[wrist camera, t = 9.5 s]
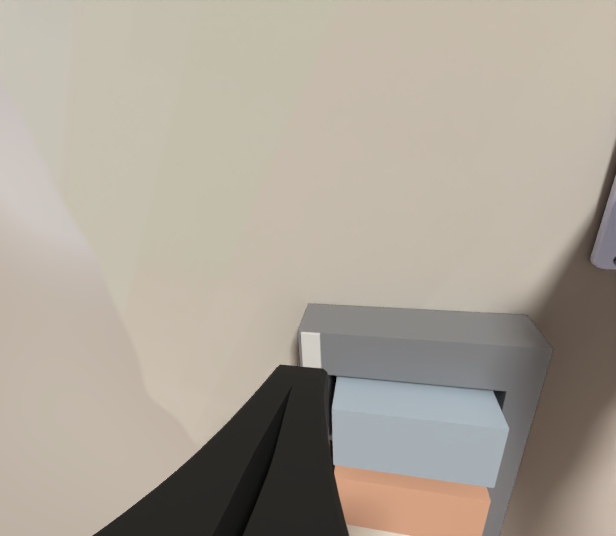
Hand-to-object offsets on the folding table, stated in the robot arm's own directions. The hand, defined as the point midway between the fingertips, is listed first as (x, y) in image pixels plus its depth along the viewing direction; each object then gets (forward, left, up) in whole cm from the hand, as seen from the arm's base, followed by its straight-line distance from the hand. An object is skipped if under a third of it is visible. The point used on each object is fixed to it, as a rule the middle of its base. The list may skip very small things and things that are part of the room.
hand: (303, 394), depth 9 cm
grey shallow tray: (-4, +13, -10) cm, 17 cm away
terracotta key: (-4, +13, -9) cm, 16 cm away
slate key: (-4, +8, -9) cm, 13 cm away
